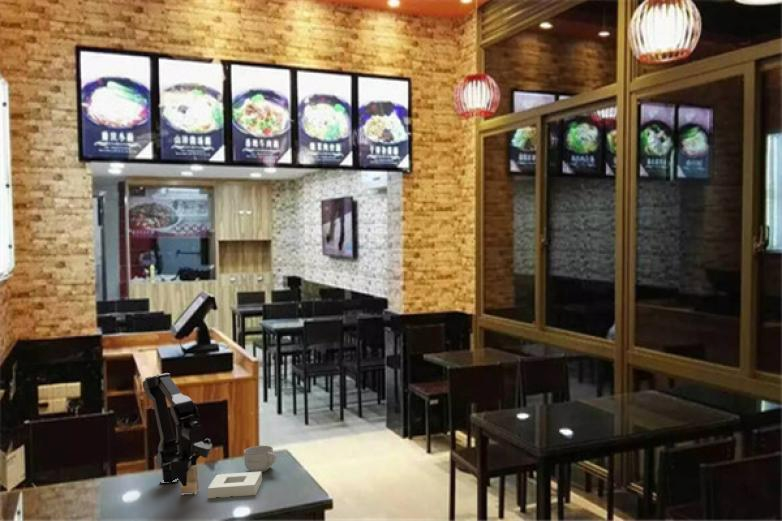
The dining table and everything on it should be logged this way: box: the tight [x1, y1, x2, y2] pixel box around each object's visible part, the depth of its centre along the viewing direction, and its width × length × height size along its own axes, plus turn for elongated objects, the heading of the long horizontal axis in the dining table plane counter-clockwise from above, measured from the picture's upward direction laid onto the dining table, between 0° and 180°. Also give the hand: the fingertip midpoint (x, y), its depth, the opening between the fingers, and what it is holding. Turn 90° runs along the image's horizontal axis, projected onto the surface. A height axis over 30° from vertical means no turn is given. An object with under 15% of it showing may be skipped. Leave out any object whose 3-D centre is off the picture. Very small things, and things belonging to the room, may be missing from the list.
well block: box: [207, 471, 263, 499], centre depth 218 cm, size 12×16×4 cm
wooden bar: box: [179, 464, 200, 494], centre depth 218 cm, size 4×5×9 cm
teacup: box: [243, 445, 277, 473], centre depth 234 cm, size 14×11×8 cm
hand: (189, 480), depth 218 cm, fingers open, 9 cm apart
